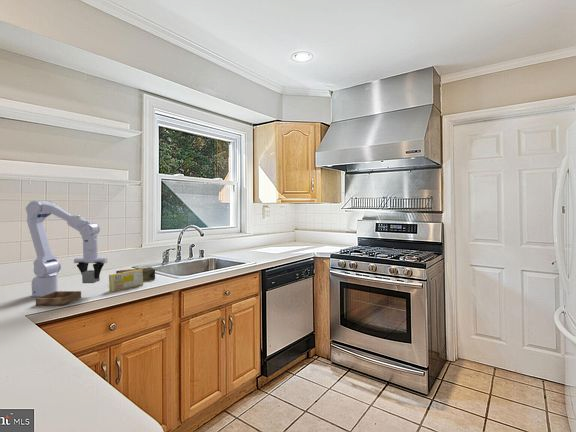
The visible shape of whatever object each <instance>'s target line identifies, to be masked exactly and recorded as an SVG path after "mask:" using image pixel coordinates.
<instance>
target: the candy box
mask: <svg viewBox="0 0 576 432" xmlns="http://www.w3.org/2000/svg"><path fill="white" fill-rule="evenodd" d="M139 269H140V268H139ZM108 284H109V287H108V288H109V292H115V291H120V290H127V289H131V288H135V287H139V286H143V285H144V281H143V270H142V269H140V270H134V271H128V272H123V273H117V274H116V273H111V274H108Z"/></svg>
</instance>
